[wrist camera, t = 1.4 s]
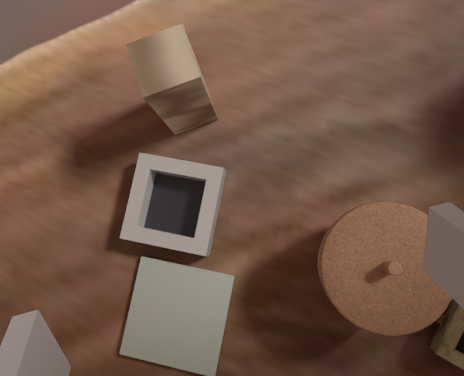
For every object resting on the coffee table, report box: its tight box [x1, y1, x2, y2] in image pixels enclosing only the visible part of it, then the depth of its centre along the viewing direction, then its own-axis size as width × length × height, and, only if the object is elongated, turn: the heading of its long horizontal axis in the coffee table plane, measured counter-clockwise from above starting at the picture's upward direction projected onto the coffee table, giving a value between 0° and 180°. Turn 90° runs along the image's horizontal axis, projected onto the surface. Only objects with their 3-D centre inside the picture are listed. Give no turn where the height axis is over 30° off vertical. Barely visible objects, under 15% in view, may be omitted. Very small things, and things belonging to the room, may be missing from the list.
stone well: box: [120, 153, 226, 256], centre depth 39 cm, size 9×9×2 cm
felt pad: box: [119, 256, 235, 376], centre depth 38 cm, size 10×10×1 cm
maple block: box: [126, 24, 218, 135], centre depth 36 cm, size 5×5×11 cm
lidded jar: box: [318, 201, 452, 336], centre depth 33 cm, size 11×11×9 cm
